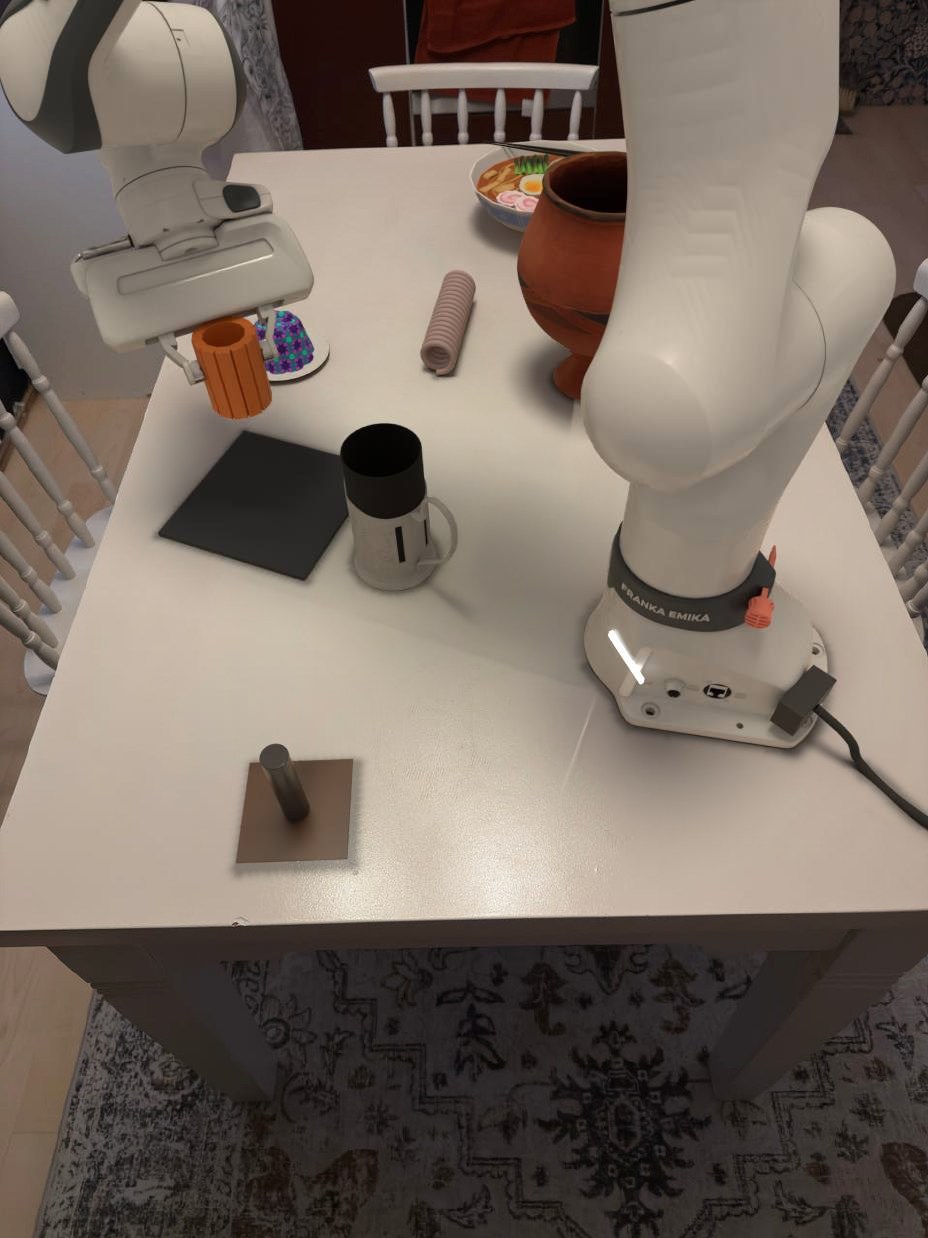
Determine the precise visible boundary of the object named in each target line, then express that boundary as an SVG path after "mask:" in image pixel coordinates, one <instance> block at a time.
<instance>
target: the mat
mask: <svg viewBox="0 0 928 1238" xmlns="http://www.w3.org/2000/svg"><path fill="white" fill-rule="evenodd" d="M348 517H349V511H348V506H347V501H346V495H345V488H344V474H343V469H342V463H341V458H340V454H335V453H332V452H328V451H325V450H324V451H323V450H320V449H316V448H313V447H309V446H305V445H301V444H298V443H295V442H294V443H293V442H291V441H286V440H283V439H280V438H275V437H272V436H268V435H264V434H260V433H257V432H254V431H253V432H252V431H249V430H245V429H244V430H242V432H241V433H240V434H239V435H238V437H236V439H235V440H234V441H233V442H232V443H231V445H230V446H229V447H228V448H227V450H226V451H225V452H224V453H223V454H222V455H221V457H220V458H218V460H217V461H216V462H215V464H214V465H213V466H212V467H211V468H210V470H209V471H208V472H207V473H206V475H205V476H204V477H203V478H202V479H201V481H199V483H198V484H197V485H196V486H195V488H194V489H193V490H192V491H191V492H190V493H189V495H188V496H186V498H185V500H184V501H182V503H181V504H180V505H179V506H178V508H177V509H175V511H174V513H172V515H171V516H170V517H169V518H168V519H167V521H166V522H165V523H164V524H163V525H162V527H161V528H160V529H159V531H158V532H157V534H158V536H160V537H162V538H166V539H169V540H173V541H175V542H178V543H182V544H184V545H188V546H191V547H194V548H198V549H201V550H204V551H207V552H210V553H213V554H214V553H215V554H217V555H220V556H224V557H227V558H230V559H233V560H236V561H240V562H243V563H246V564H249V565H252V566H256V567H259V568H262V569H265V570H269V571H272V572H275V573H278V574H282V575H285V576H288V577H291V578H294V579H297V580H301V581H303V582H305V581H306V579H307V578H308V576H309V575H310V573H311V572H312V570H313V569H314V567H315V566H316V564H317V563H318V561H319V560H320V558H321V557H322V555H323V554H324V552H325V551H326V549H327V548H328V546H329V545H330V543H331V542H332V540H333V539H334V537H335V536H336V534H337V533H338V531H339V530H340V528H341V527H342V525H343V524H344V523H345V521H346V519H347V518H348Z"/></svg>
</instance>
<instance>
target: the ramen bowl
mask: <svg viewBox="0 0 928 1238" xmlns="http://www.w3.org/2000/svg"><path fill="white" fill-rule="evenodd" d="M481 143H482V144H486V145H491V146H497V147H498V148H495V149H492V150H490V151H488V152H487V153H485V154H484V155H483V156H481V157H480V158H478V159H477V160H475V161H474V162H473V164H472V167H471V169H470V171H469V174H468V179H469V181H470V184H471V186H472V188H473V191H474V193H475V195H476V197H477V199H478V201H479V203H480V204H481V205H482V207H483V208H484V210H485V211H486V212H487V213H488V214H489V215H490V216H491V217H492V218H493V219H495V220H496V221H498V222H499V223H500V224H502V225H503V226H505V227H507V228H508V229H511V230H514V231H517V232H520V233H523V234H524V233H525V230H526V228H527V225H528V223H529V221H530V219H531V216H532V214H533V212H534V210H535V207H536V205H537V203H538V200H539V197H540V194H541V192H542V189H543V187H542V179H543V176H544V173H545V171H546V169H547V168H548V167H549V166H551V165H552V164H553V163H555V162H557V161H559V160H561V159H563V158H565V157H569V156H572V155H576V154H580V153H584V152H593V151H600V150H599V149H597V148H594V147H591V146H587V145H583V144H579V143H576V142H572V141H564V140H563V141H561V140H546V139H538V140H529V141H519V142H513V143H512V142H501V141H494V140H486V139H485V140H484V139H483V141H482V142H481Z"/></svg>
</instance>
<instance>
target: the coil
mask: <svg viewBox="0 0 928 1238" xmlns="http://www.w3.org/2000/svg"><path fill="white" fill-rule="evenodd" d="M476 287H477V286H476V282H475V279H474V278H473V277H472V276H471V274H469V273H468V272H466V271H464V270H461V269H453V270H450V271H448V272H447V273H446V274H445V275H444V277H443V280H442V283H441V286H440V290H439V293H438V295H437V299H436V302H435V305H434V307H433V311H432V313H431V317H430V320H429V323H428V326H427V328H426V332H425V336H424V338H423V341H422V344H421V347H420V351H419V355H420V359H421V362H422V363H423V364H424V365H425V366H426V367H427V368H429V369H431V370H435V375H436V376H444V375H447V374H449V373H450V372H451V371H453V369H454V368H455V366H456V363H457V359H458V355H459V352H460V349H461V348H460V347H461V345H462V342H463V337H464V333H465V330H466V327H467V323H468V319H469V315H470V312H471V309H472V306H473V302H474V298H475V295H476V290H477V288H476Z"/></svg>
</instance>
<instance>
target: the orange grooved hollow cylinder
mask: <svg viewBox="0 0 928 1238" xmlns="http://www.w3.org/2000/svg"><path fill="white" fill-rule="evenodd" d="M190 342H191V346H192V348H193V352H194V354H195V358H196V360H198V362H199V364H200V366H201V367H200V370H202V371H203V374H204V376H205V381H203V383H204V385H205V389H206V392H207V395H208V397H209V398H208V399H209V401H210V404H211V408H212V410H213V411H214V412H215V413H216V414H217V415H218V417H219V416H220V417H221V418H225V419H227V420H235V421H237V420H245V419H246V420H247V419H249V417H250V418H253V417H256V416H258V415H259V414H262V413H263V411H266V410H267V409H268V407H269V406H270V405H271V403H272V402H273V392H272V388H271V384H270V380H268V376H267V372H266V368H265V364H264V360H263V356H262V352H261V348H260V344H259V340H258V336H257V332H256V328H255V326H254V323H253V322H252V321H250V319H247V317H244V318H242V317H238V316H233V317H232V316H224V317H221V318H217V319H214V320H211V321H207V322H204V323H203V324H200V325H199V326H198V327H197V328H196V329H195V330H194V331H193V333H191V340H190Z"/></svg>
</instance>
